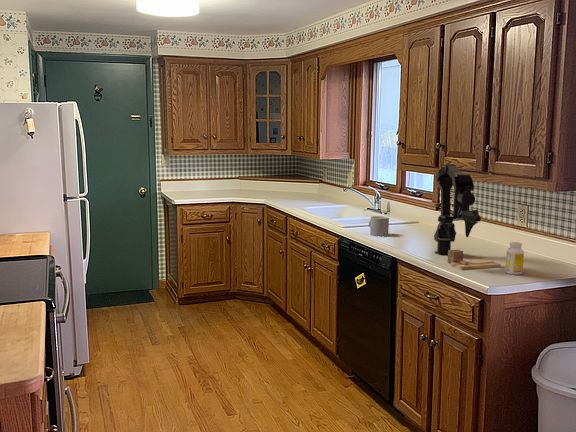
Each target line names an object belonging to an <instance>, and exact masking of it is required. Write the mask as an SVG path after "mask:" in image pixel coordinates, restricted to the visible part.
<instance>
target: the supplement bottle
mask: <svg viewBox="0 0 576 432" xmlns="http://www.w3.org/2000/svg"><path fill="white" fill-rule="evenodd" d="M522 247H523V243H521V242H517V241H511V242H509V248H507V250H506V259H505V273H506V274H509V275H514V276H516V275H517V276H518V275H522V274H523V272H524V271H523V269H524V256H525V255H524V253H525V250H524V249H522Z"/></svg>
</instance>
